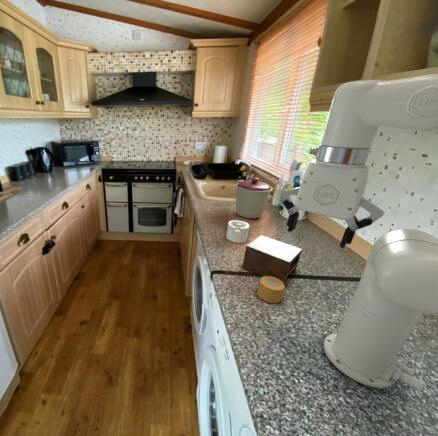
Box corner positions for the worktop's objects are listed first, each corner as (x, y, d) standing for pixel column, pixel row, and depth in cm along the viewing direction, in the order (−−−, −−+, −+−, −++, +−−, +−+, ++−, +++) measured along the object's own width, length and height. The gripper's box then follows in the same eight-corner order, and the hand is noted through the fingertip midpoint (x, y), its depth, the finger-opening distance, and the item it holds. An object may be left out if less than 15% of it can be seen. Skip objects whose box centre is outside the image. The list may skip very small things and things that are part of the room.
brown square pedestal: (295, 271, 85) (302, 249, 82) (283, 286, 78) (289, 262, 74) (256, 255, 95) (261, 235, 91) (242, 267, 87) (246, 245, 84)
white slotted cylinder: (246, 244, 103) (249, 230, 100) (225, 240, 106) (227, 226, 104) (248, 226, 120) (250, 213, 117) (229, 223, 123) (231, 211, 120)
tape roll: (284, 295, 74) (288, 283, 72) (276, 306, 69) (279, 293, 67) (262, 285, 78) (265, 273, 76) (253, 295, 74) (256, 282, 72)
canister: (224, 212, 137) (229, 175, 129) (247, 207, 145) (254, 172, 136) (248, 224, 122) (256, 183, 114) (273, 218, 129) (282, 179, 121)
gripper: (284, 153, 49) (267, 229, 56) (404, 165, 37) (364, 260, 44) (297, 149, 54) (280, 220, 60) (406, 160, 42) (370, 246, 49)
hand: (315, 237), depth 52 cm, fingers open, 9 cm apart
